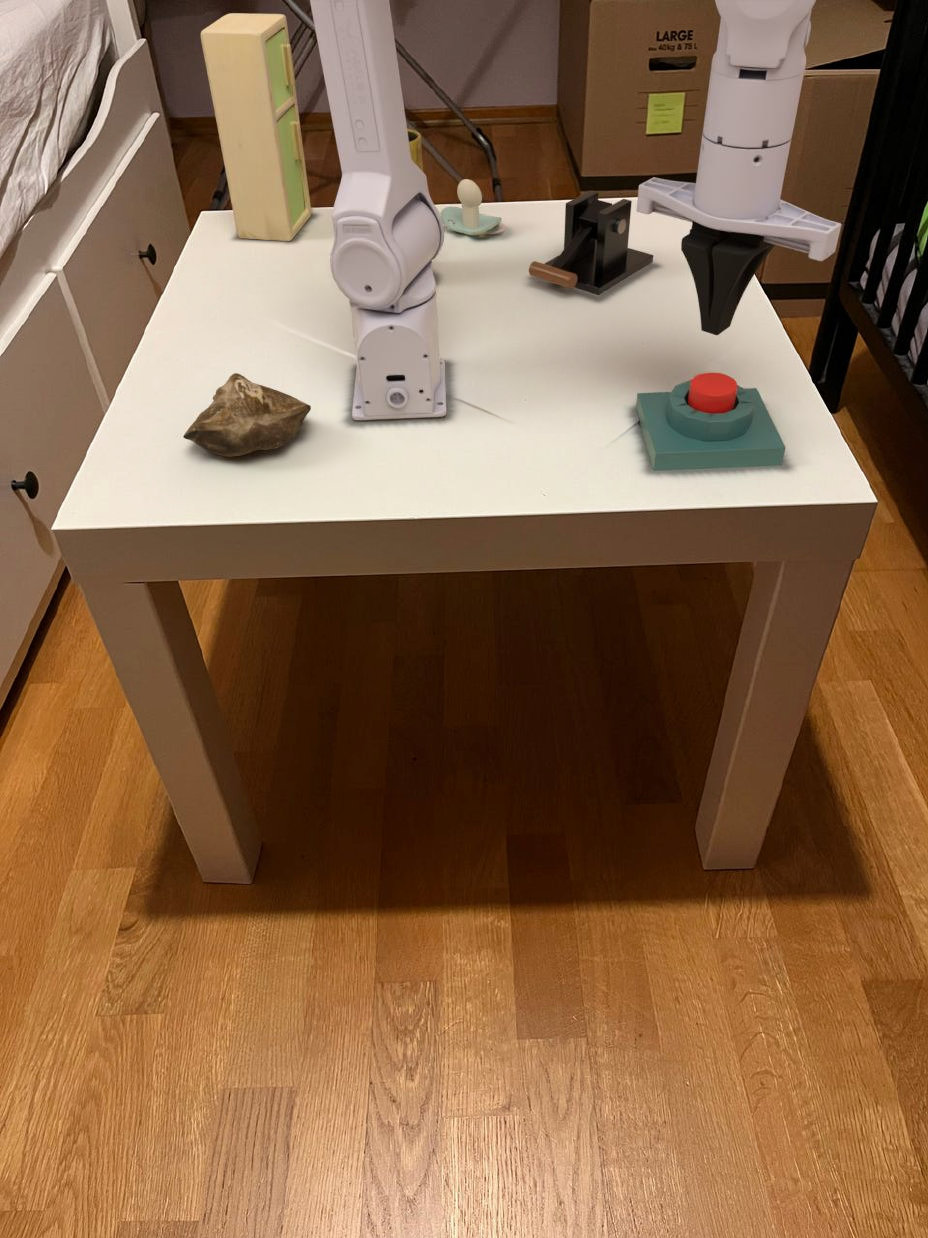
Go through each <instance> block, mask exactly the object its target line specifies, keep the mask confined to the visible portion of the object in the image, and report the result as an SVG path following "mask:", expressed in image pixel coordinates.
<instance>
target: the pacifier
mask: <svg viewBox="0 0 928 1238" xmlns="http://www.w3.org/2000/svg"><path fill="white" fill-rule="evenodd" d="M456 193H457V198H458V200H459V201H460V203H461V207H459V206H447V207H444V208H442V209H441V211H440V216H441V218H442V221H443V225H444V227H446V228H448V229H449V230H450V231H453V232H457V233H460V234H464V235H467V236H475V237H476V236H477V237H479V236H480V237H481V236H485V235H497V234H501V233H504V232H505V230H506V225H505V224H504V223H503V222H502V217H501V216H499V217H498V216H493V215H487V214H483V213H480V211H479V210H480V209H479V207H480V205H481V204H482V202H483V194H482V191H481V189H480V187H479V186H478V184H477V183H476V182H474V181H473V180H472V179H468V178H464V179H462V180H460V182H459V183H458V185H457V191H456Z"/></svg>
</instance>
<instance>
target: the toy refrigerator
mask: <svg viewBox="0 0 928 1238" xmlns="http://www.w3.org/2000/svg"><path fill="white" fill-rule="evenodd" d="M287 21H288V20H287V16H286V15H285V14H281V13H243V12H241V13H237V12H232V13H231V12H230V13H226V14H225V15H223V16H221V17H220V18H219V19H217V20H215V21H214V22H213V23H211V24H210V25H208V26H206V27H205V28H204V29H202V30H201V31H200V41H201V47H202V51H203V57H204V62H205V68H206V73H207V80H208V85H209V89H210V94H211V99H212V105H213V110H214V116H215V120H216V126H217V131H218V137H219V144H220V147H221V149H220V150H221V153H222V159H223V164H224V171H225V176H226V180H227V181H226V182H227V185H228V192H229V197H230V202H231V207H232V213H233V219H234V223H235V229H236V233H237V236H238V238H239V239H243V240H245V239H248V240H263V241H280V242H291V241H292V240H293V239H294V238H295V237H296V235H298V233H299V232H300V231H301V229H302V228H303V226H304V225H305V224H306V223H307V222H308V220H309V219H311V216H312V205H311V197H310V191H309V184H308V182H309V181H308V175H307V169H306V160H305V154H304V146H303V136H302V131H301V123H300V122H301V121H300V114H299V113H300V112H299V107H298V98H297V90H296V78H295V70H294V62H293V55H292V47H291V44H290V43H291V42H290V36H289V29H288V22H287Z"/></svg>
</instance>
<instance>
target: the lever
mask: <svg viewBox="0 0 928 1238" xmlns="http://www.w3.org/2000/svg"><path fill="white" fill-rule="evenodd" d="M611 205H613V203H612V202H608V201H605V200H600V199H598V200H597V199H594V200H593V201H592V202H591V204H590V205H589V206H588V207H587V208H586V210H585V211H584V212H583V213H582V215H581V216H580V217H579V219H580V224H581V230H580V231H579V232H578V233H577V235H576V236H575V237H574V238H573V239H572V241H571V242H570V243H569V244H568V246H567V247H566V248H565V249H564V248H563V250H562V251H561V252H560V254H559V255H558V256H559V257H558V258H557V259H556V260H555V261H554V263H553V264H552V265H551V266H549V265H546V264H544V263H542V262H539V261H536V260H535V261H532V262H531V263H530V264H529V266H528V274H529V276H531V277H533V278H536V279H539V280H542V281H546V282H549V283H552V284H554V285H558V286H561V287H563V288H566V289H575V288H574V287H575V285H576V283H577V275H576V274H574V273H571V272H568V271H566V269H567V268H568V267H569V266H570V265H571V263H572V262H573V261H574V260H575V258H576V257H577V256H578V255H579V253H580V252H581V251H582V250H583V249H584V247H585V246H586V245H587V244H588V242H589V241H590V240H591V239H595V240H597V230H598V214H599V212H600V211H602V210H604V209H605V208H607V207H609V206H611Z"/></svg>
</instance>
